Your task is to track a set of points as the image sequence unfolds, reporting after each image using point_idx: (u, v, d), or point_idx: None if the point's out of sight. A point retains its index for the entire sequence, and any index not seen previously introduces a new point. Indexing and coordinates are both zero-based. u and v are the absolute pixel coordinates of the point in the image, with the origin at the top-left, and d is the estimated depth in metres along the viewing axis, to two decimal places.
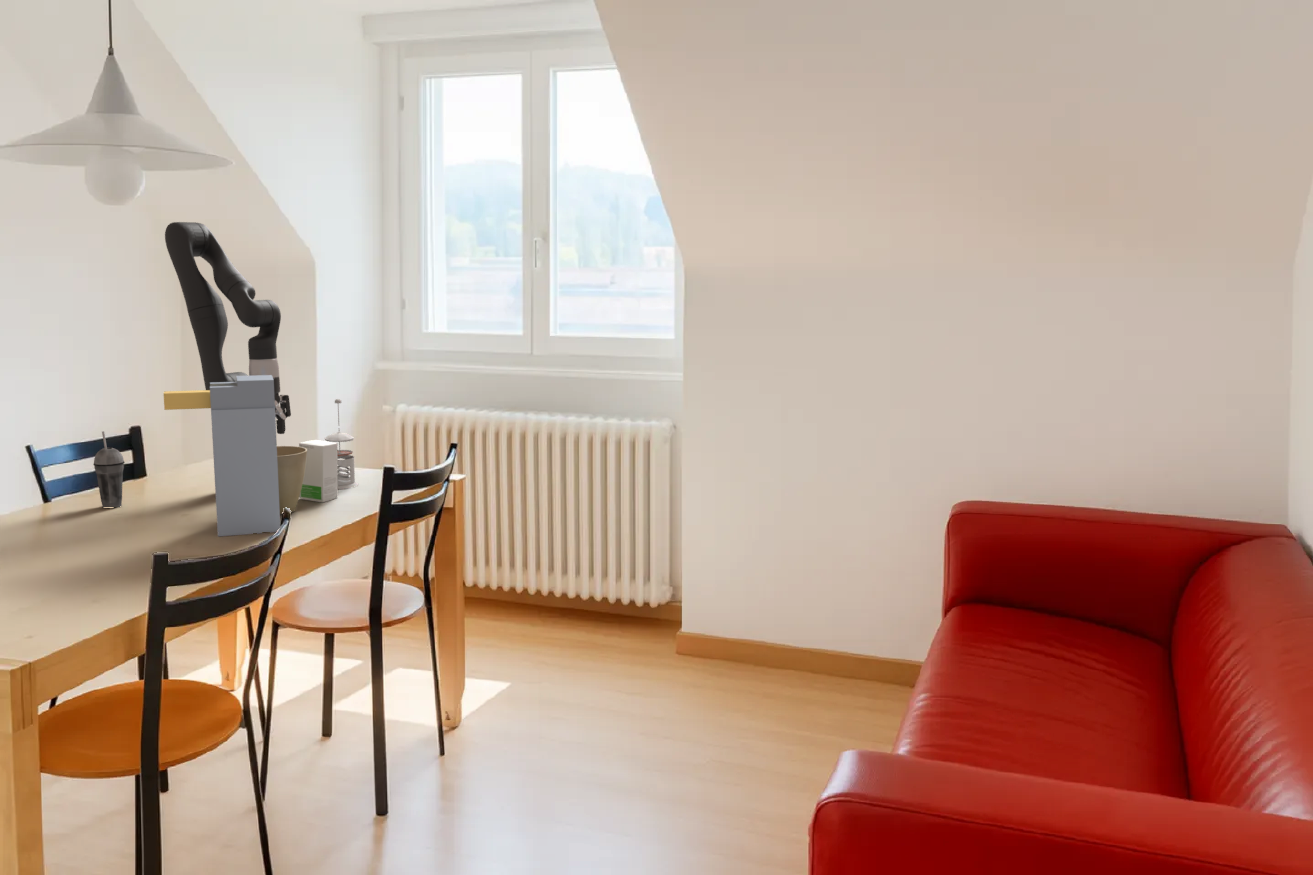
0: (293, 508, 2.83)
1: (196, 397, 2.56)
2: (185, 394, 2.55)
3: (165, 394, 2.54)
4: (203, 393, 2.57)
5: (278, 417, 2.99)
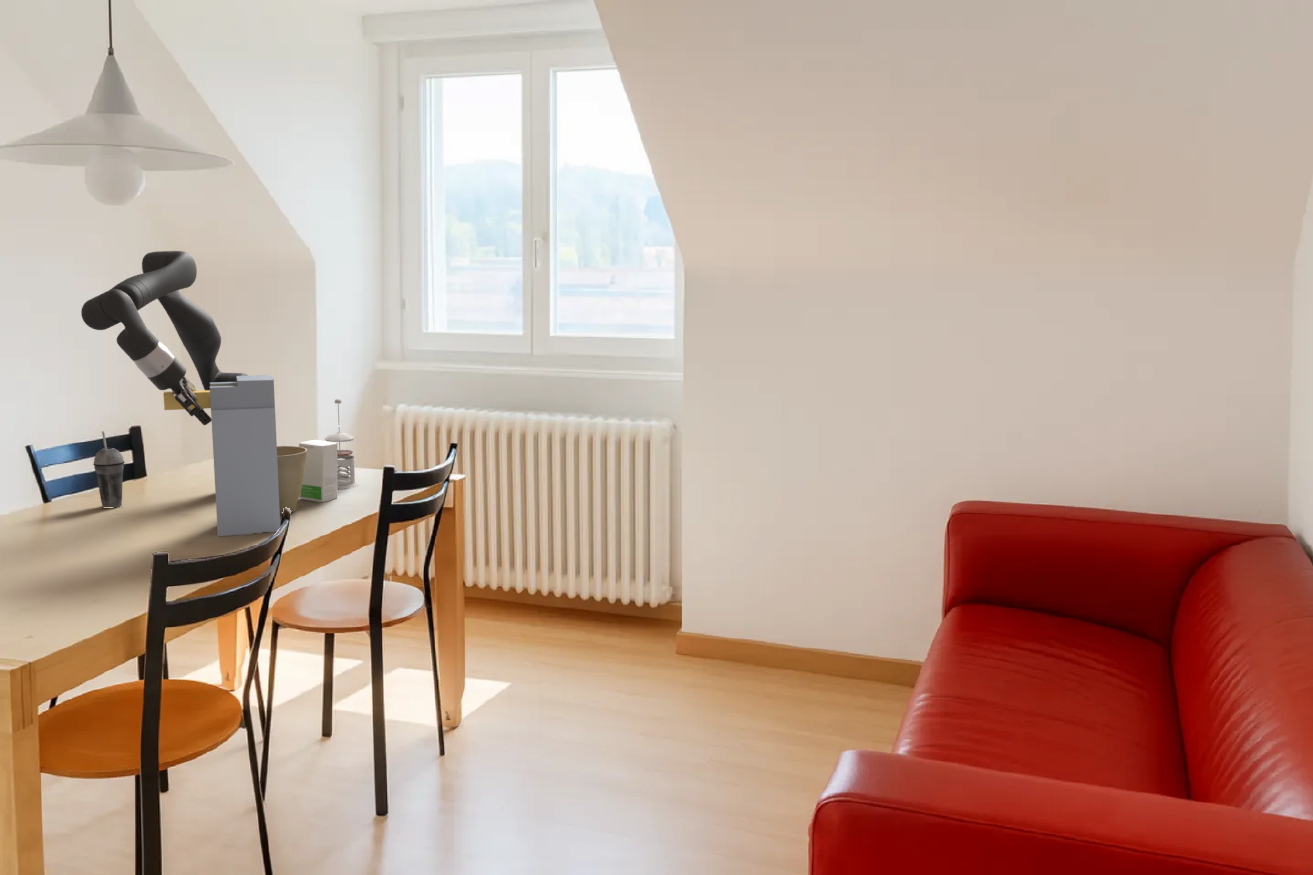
0: (293, 508, 2.83)
1: None
2: None
3: (165, 394, 2.54)
4: (203, 393, 2.57)
5: None
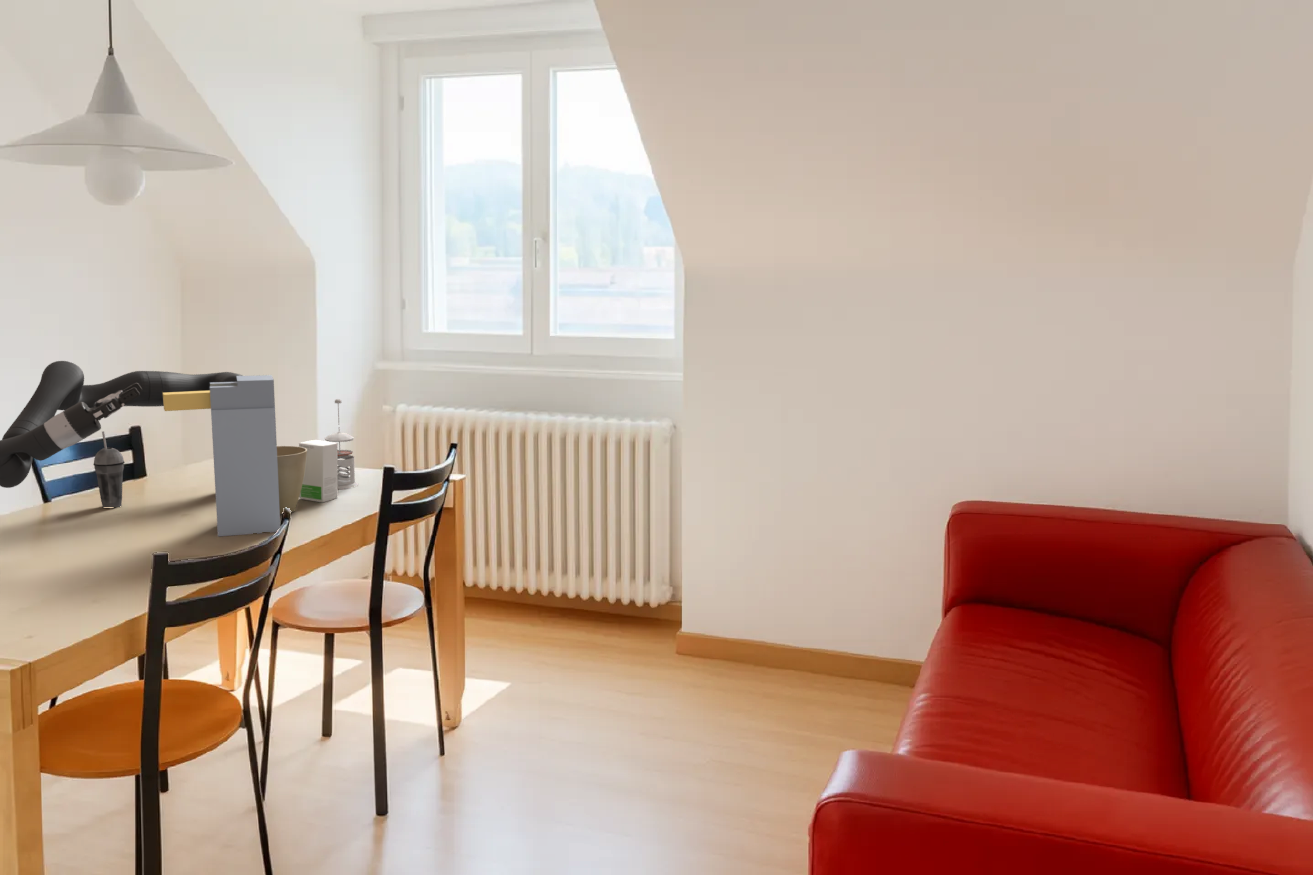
0: (293, 508, 2.83)
1: (196, 398, 2.56)
2: (185, 395, 2.54)
3: (165, 395, 2.52)
4: (203, 394, 2.56)
5: None
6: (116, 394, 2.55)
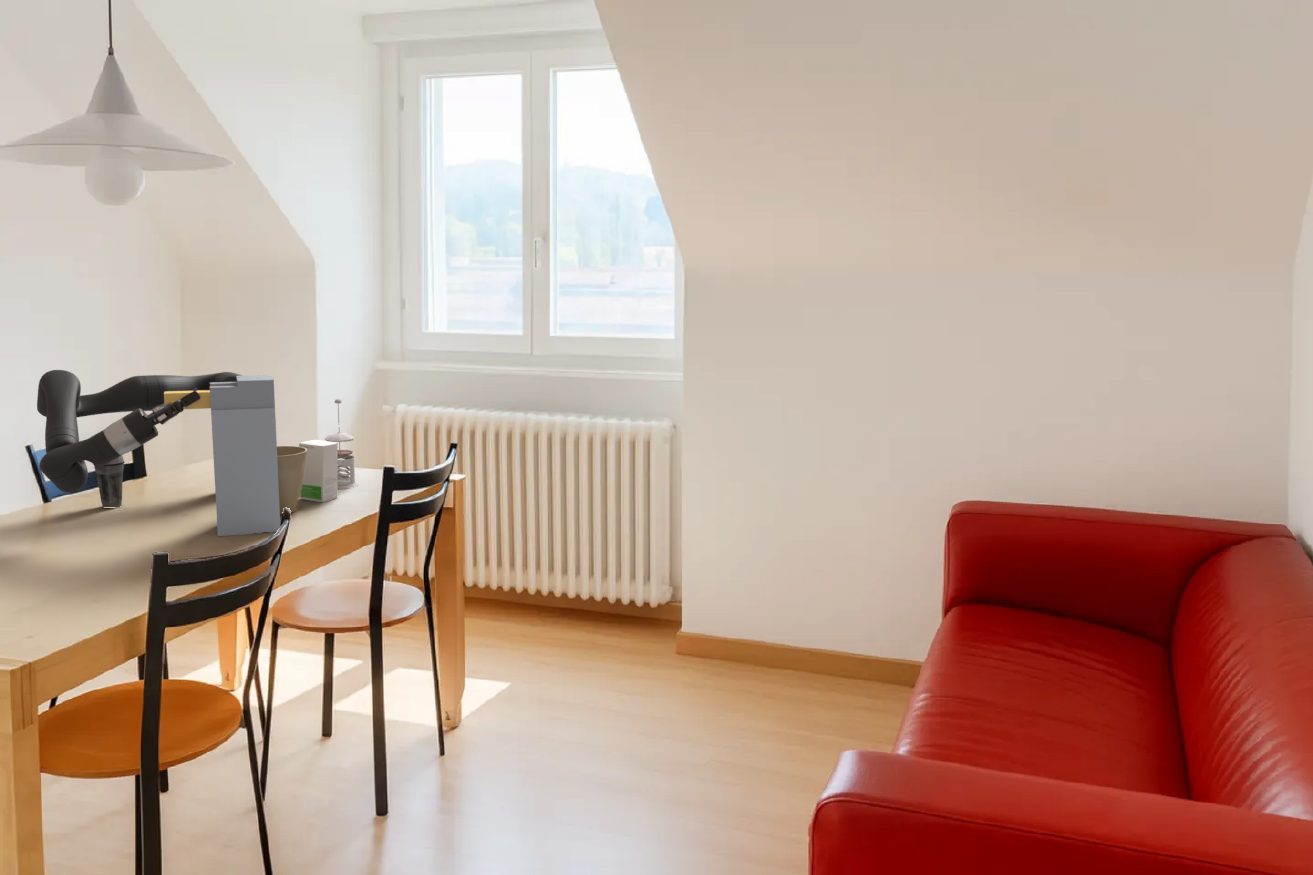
0: (293, 508, 2.83)
1: None
2: (185, 394, 2.55)
3: (165, 394, 2.54)
4: (203, 393, 2.57)
5: None
6: None
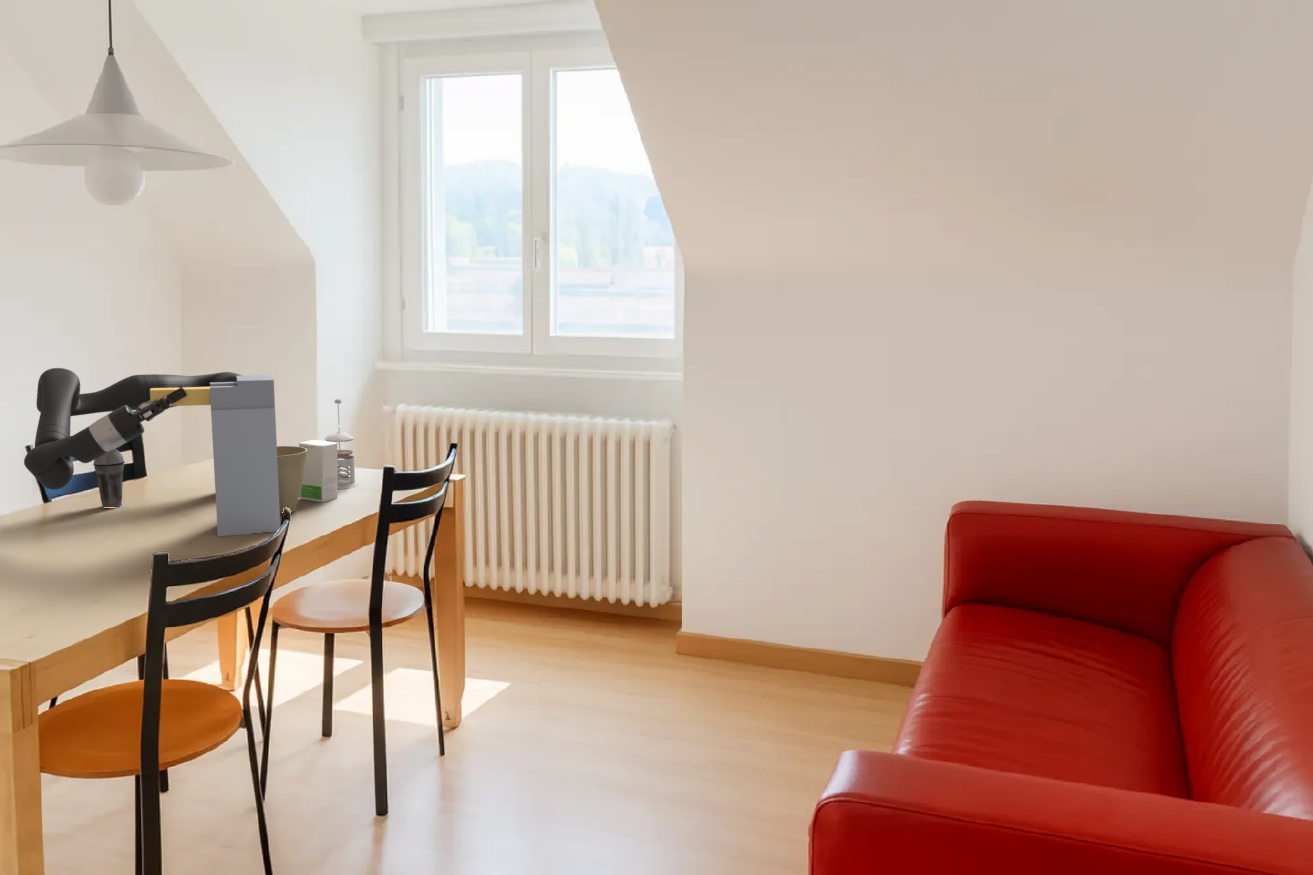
0: (293, 508, 2.83)
1: None
2: (172, 391, 2.54)
3: (152, 391, 2.53)
4: (190, 390, 2.56)
5: None
6: None
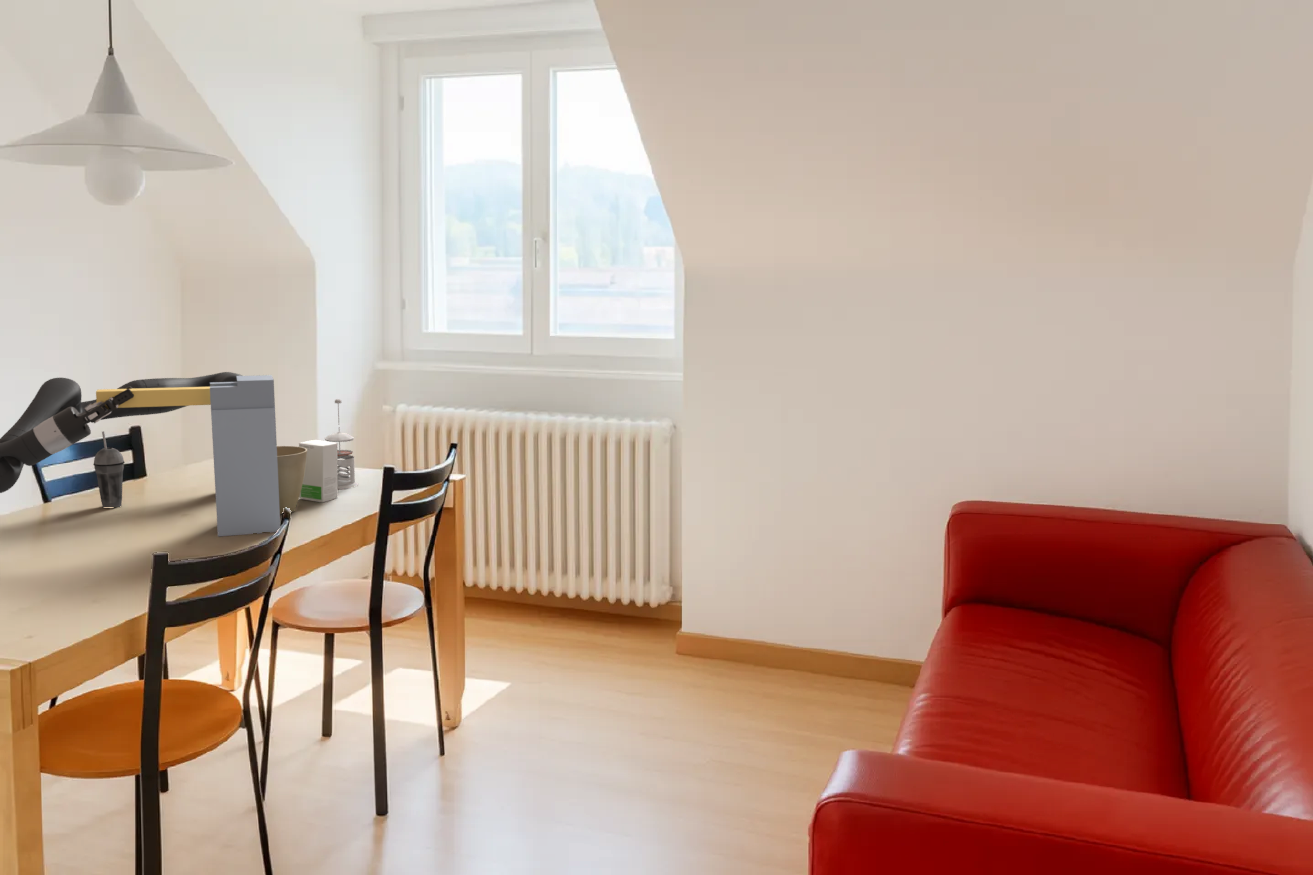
0: (293, 508, 2.83)
1: None
2: (118, 392, 2.50)
3: (97, 392, 2.49)
4: (137, 391, 2.52)
5: None
6: None
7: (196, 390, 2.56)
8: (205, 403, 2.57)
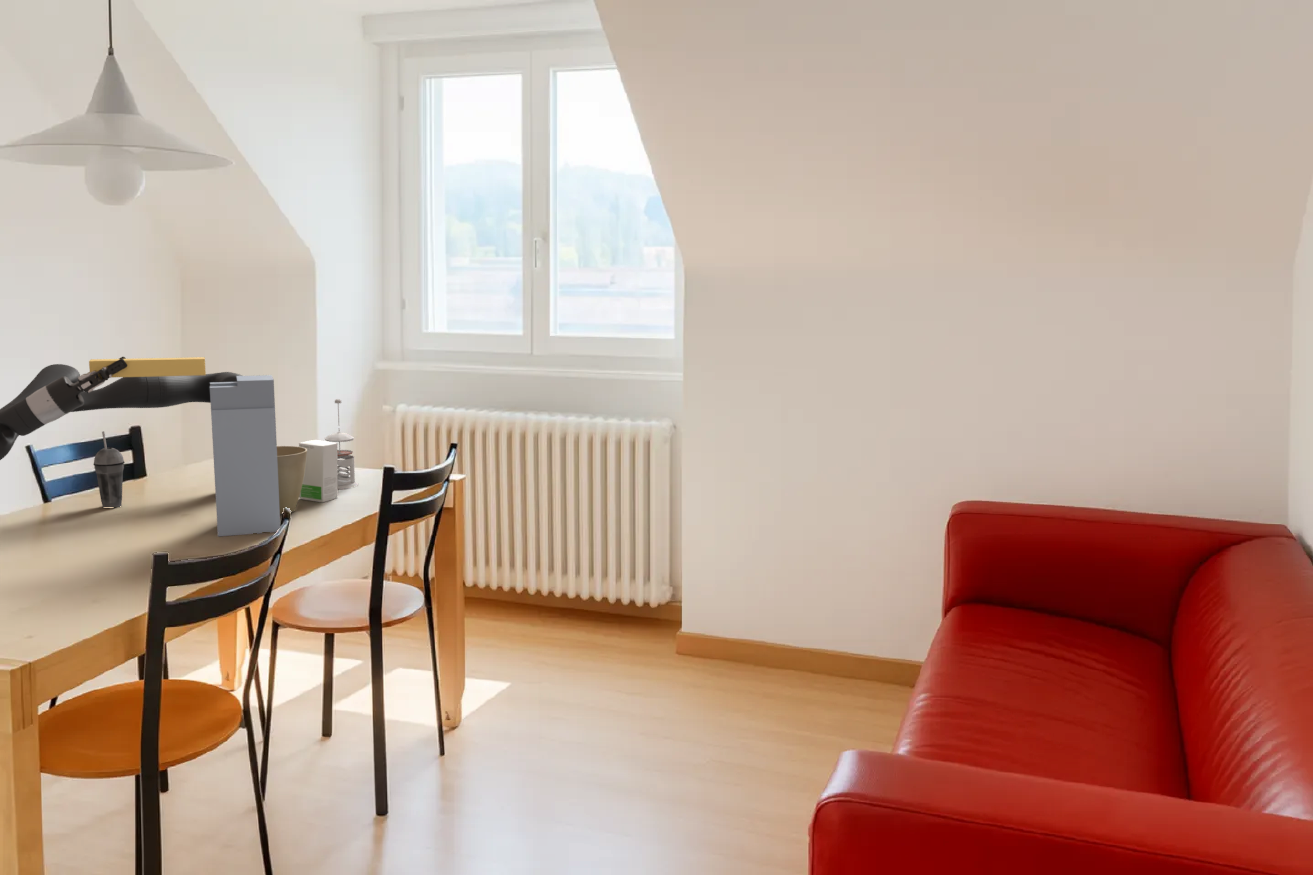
0: (293, 508, 2.83)
1: None
2: (112, 362, 2.49)
3: (91, 362, 2.47)
4: (131, 361, 2.50)
5: None
6: None
7: (190, 360, 2.55)
8: (199, 373, 2.56)
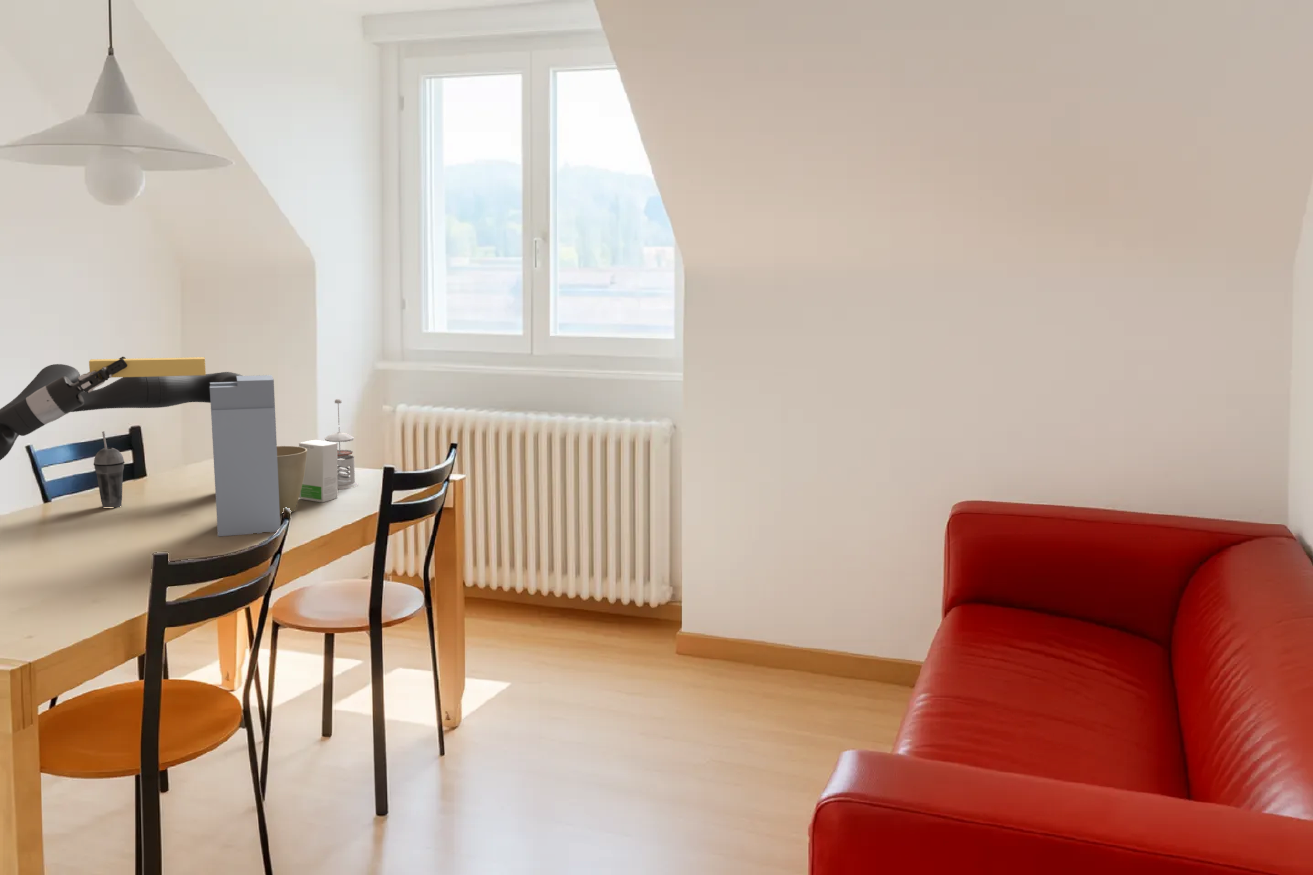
0: (293, 508, 2.83)
1: None
2: (112, 362, 2.49)
3: (91, 362, 2.47)
4: (131, 361, 2.50)
5: None
6: None
7: (190, 360, 2.55)
8: (199, 373, 2.56)
